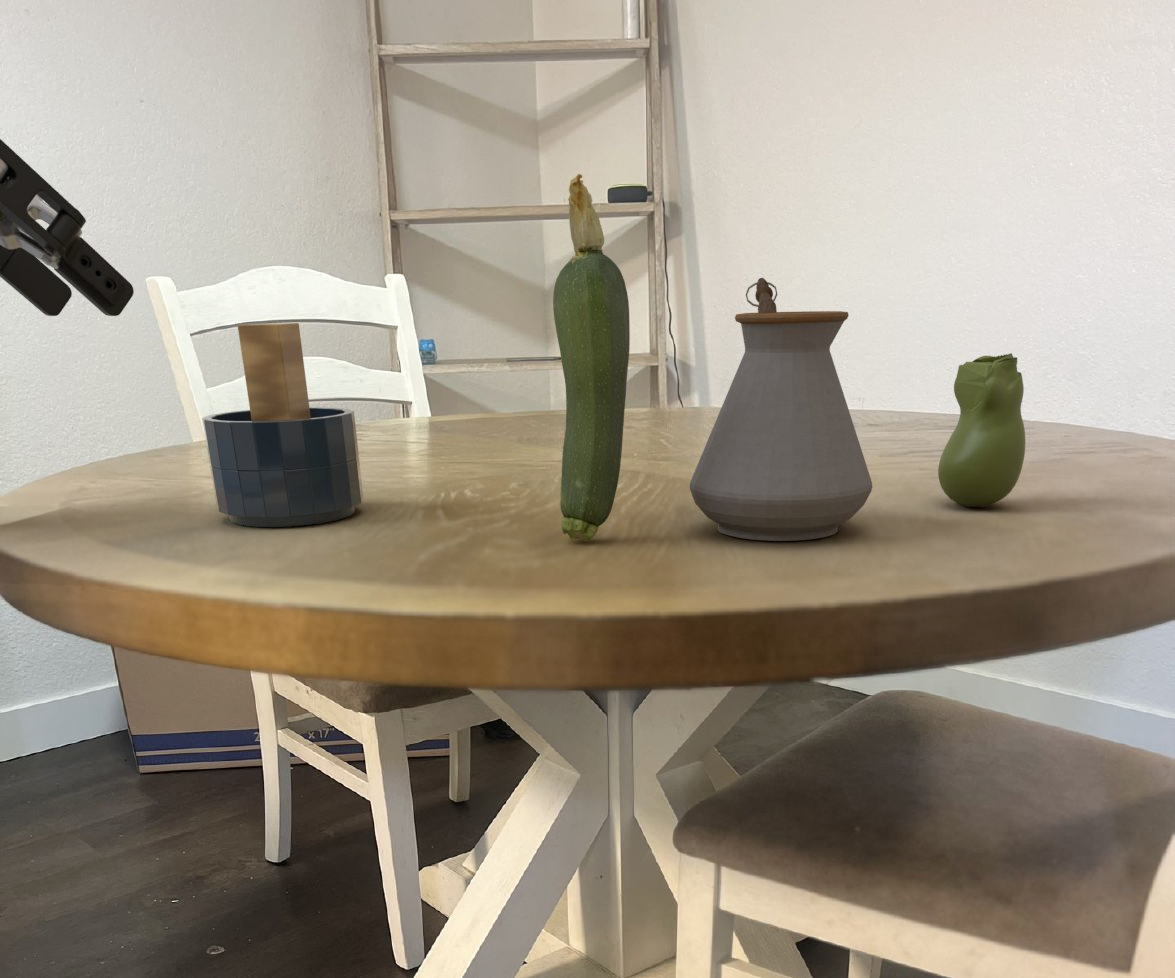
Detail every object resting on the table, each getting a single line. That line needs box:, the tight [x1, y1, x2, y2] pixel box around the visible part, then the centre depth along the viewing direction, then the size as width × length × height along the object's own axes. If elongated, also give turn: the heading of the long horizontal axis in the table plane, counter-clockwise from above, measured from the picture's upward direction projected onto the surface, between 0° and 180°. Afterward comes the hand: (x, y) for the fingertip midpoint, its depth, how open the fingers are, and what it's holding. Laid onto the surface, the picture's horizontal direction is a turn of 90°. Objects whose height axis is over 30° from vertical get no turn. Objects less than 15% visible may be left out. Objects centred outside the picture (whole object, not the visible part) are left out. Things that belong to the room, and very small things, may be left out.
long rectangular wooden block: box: [237, 322, 311, 421], centre depth 73 cm, size 3×3×12 cm
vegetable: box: [552, 173, 631, 543], centre depth 61 cm, size 4×4×20 cm
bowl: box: [201, 406, 364, 528], centre depth 74 cm, size 10×10×7 cm
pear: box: [937, 352, 1026, 508], centre depth 71 cm, size 6×5×10 cm
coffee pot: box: [689, 277, 873, 542], centre depth 69 cm, size 21×12×15 cm, turn 178°
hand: (91, 305), depth 62 cm, fingers open, 8 cm apart
